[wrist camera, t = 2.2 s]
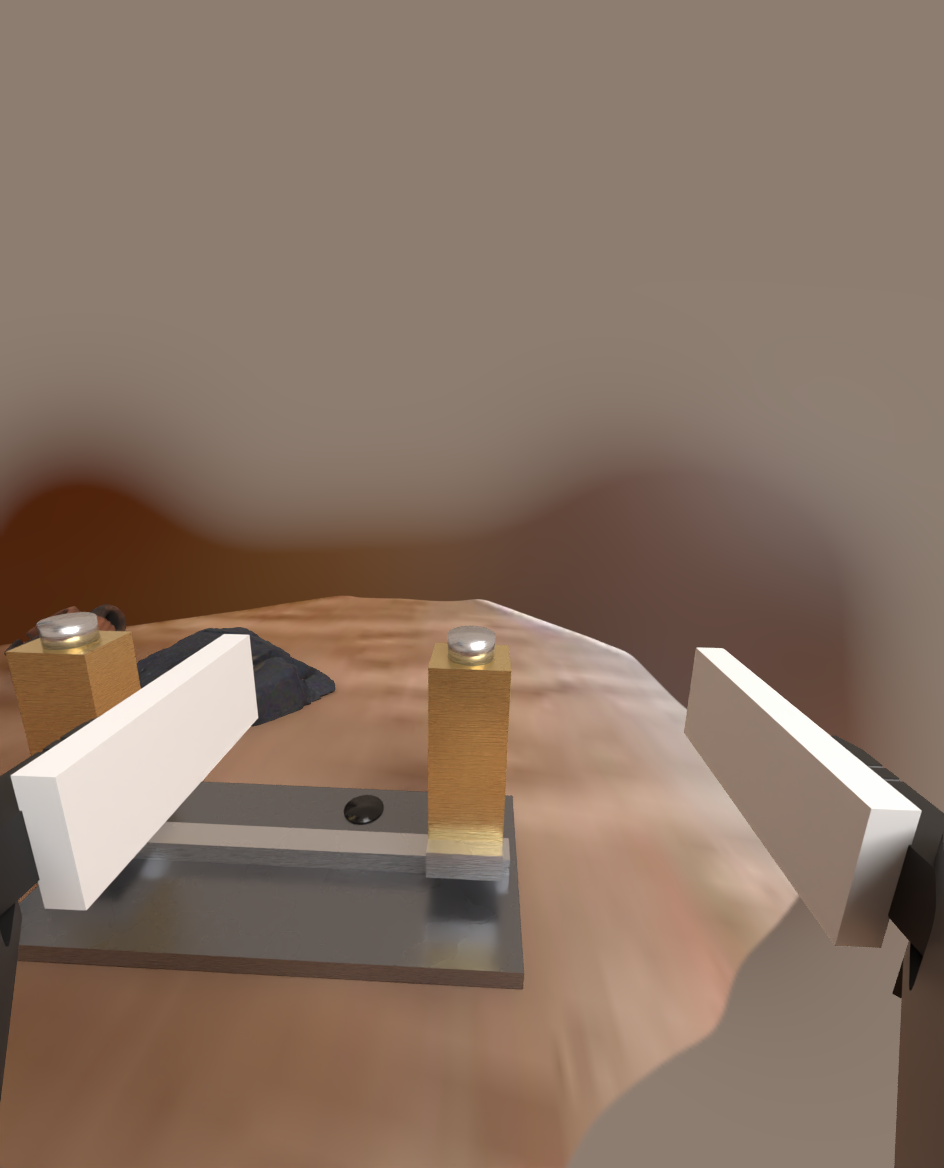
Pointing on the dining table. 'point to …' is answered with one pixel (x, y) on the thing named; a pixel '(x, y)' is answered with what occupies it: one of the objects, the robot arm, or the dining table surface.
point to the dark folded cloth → (271, 668)
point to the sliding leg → (467, 755)
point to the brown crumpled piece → (109, 612)
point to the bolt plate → (262, 863)
